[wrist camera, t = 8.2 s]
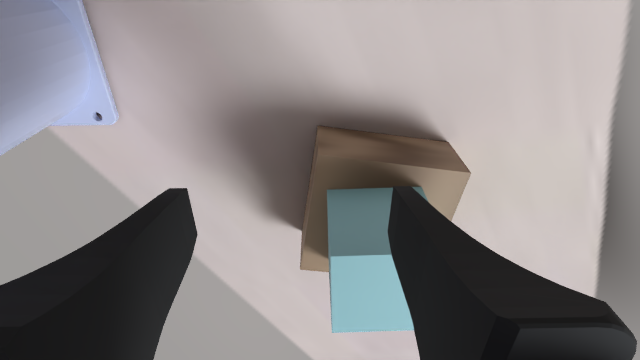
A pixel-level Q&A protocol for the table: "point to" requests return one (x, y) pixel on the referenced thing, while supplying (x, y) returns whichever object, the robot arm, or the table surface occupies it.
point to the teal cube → (363, 263)
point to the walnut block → (375, 177)
